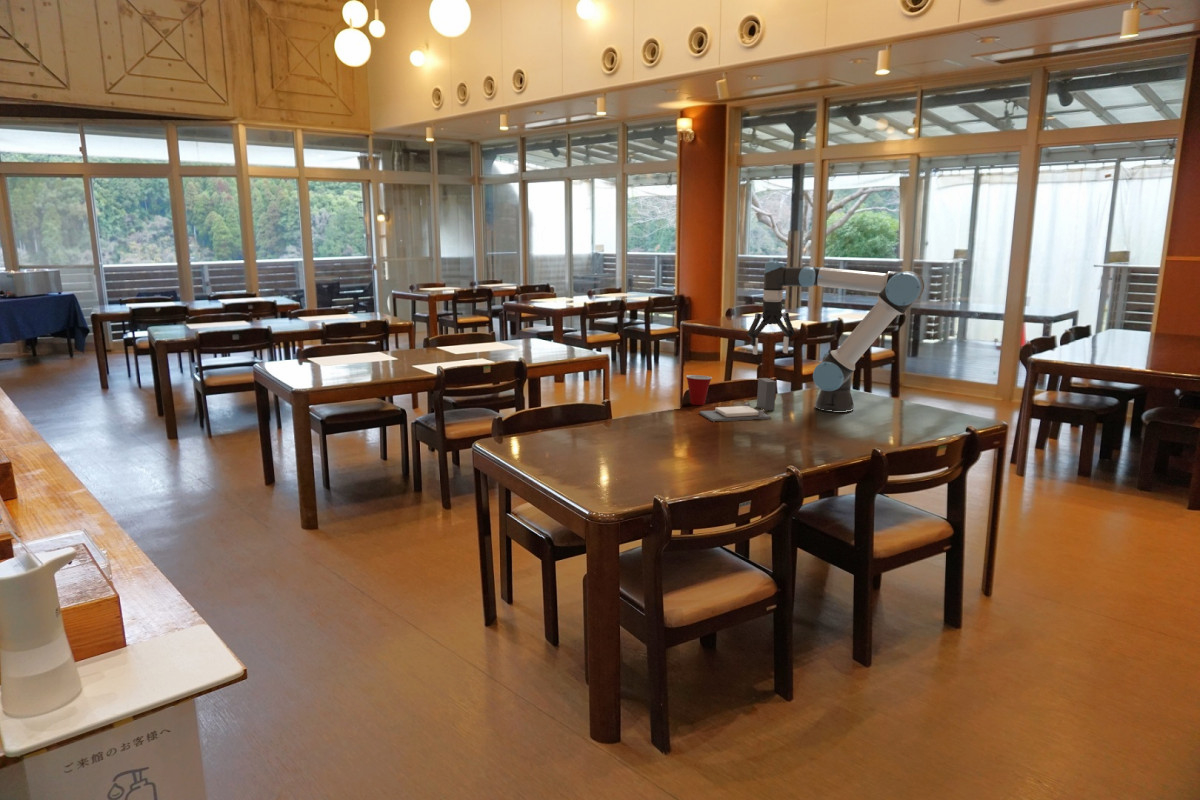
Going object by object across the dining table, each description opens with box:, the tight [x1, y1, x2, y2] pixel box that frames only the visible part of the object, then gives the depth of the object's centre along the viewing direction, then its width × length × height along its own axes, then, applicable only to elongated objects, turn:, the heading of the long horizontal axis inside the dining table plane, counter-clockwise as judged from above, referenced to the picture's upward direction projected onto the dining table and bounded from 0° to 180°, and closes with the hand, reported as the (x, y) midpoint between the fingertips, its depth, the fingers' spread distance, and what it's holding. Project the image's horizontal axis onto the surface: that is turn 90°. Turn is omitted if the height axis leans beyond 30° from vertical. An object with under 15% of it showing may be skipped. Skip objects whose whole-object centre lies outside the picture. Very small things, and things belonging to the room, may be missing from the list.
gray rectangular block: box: [756, 377, 777, 411], centre depth 320 cm, size 4×8×12 cm, turn 14°
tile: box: [714, 405, 759, 417], centre depth 307 cm, size 2×11×14 cm
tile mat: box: [699, 402, 772, 423], centre depth 307 cm, size 24×14×4 cm, turn 105°
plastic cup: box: [685, 374, 713, 406], centre depth 327 cm, size 11×11×12 cm
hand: (770, 353), depth 317 cm, fingers open, 13 cm apart
